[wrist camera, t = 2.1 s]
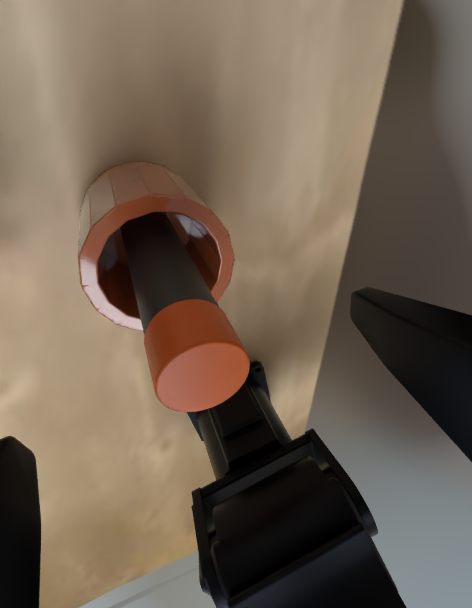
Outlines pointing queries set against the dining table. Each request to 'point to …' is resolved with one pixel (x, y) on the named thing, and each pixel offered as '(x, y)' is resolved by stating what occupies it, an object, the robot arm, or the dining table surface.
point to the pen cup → (134, 203)
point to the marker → (181, 320)
